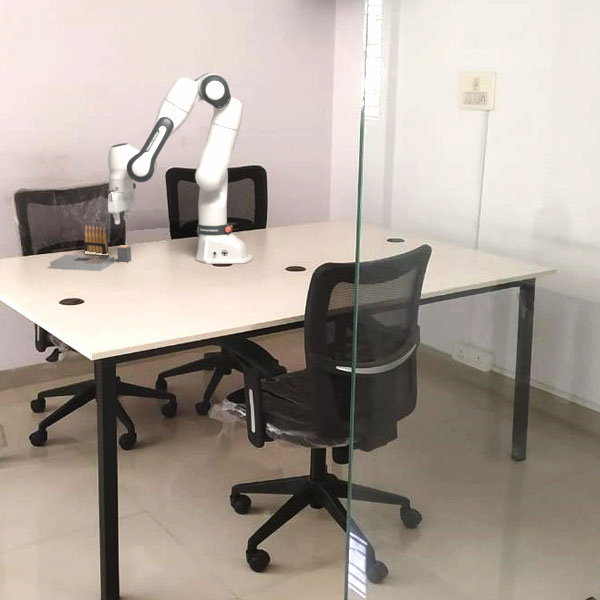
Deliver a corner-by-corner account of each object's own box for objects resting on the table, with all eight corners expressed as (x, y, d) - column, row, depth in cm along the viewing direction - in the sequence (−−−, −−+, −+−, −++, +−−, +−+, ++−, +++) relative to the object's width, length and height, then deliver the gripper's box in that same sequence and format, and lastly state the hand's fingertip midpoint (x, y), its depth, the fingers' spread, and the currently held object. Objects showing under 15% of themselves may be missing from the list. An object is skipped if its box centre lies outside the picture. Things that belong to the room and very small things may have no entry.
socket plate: (114, 262, 353) (114, 254, 352) (100, 270, 339) (100, 261, 339) (66, 261, 356) (65, 252, 355) (50, 268, 343) (50, 260, 342)
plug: (131, 260, 357) (130, 245, 355) (127, 263, 353) (126, 247, 351) (121, 260, 357) (120, 244, 356) (117, 262, 354) (117, 246, 352)
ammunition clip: (84, 254, 369) (82, 225, 367) (87, 253, 371) (85, 224, 368) (106, 256, 365) (104, 226, 362) (108, 255, 367) (107, 226, 364)
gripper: (119, 190, 337) (120, 226, 341) (137, 183, 357) (138, 218, 360) (102, 189, 338) (104, 226, 342) (122, 182, 358) (123, 217, 361)
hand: (122, 222), depth 351 cm, fingers open, 8 cm apart
